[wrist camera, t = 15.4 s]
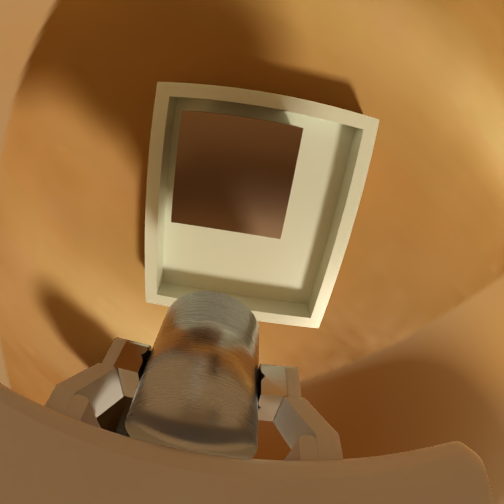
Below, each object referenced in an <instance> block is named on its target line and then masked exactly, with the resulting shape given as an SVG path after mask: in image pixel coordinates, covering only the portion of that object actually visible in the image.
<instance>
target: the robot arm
mask: <svg viewBox="0 0 504 504" xmlns="http://www.w3.org/2000/svg"><path fill="white" fill-rule="evenodd" d="M151 350H152V349H151V346H150V345H146V344H142V343H138V342H134V341H131V340H126V339H122V338H119V337H117V338H115V339H114V341H113V343H112V345H111V346H110V348H109V350H108V352H107V354H106V356H105V358H104V359H103V361H102V363H97V364H95V365H93V366H91V367H89V368H87V369H86V370H84V371H82V372H80V373H78V374H76V375H74V376H73V377H71V378H69V379H67V380H65V381H63V382H61V383H59V384H57V385H56V387H55V389H54V391H53V392H52V394H51V396H50V398H49V399H48V401H47V403H46V405H45V406H43V405H41V404H39V403H37V402H35V401H33V400H31V399H29V398H27V397H25V396H23V395H21V394H19V393H17V392H15V391H13V390H11V389H10V388H8V387H6V386H4V385H2V384H1V383H0V504H494V500H493V495H492V491H491V487H490V483H489V480H488V477H487V473H486V470H485V467H484V464H483V462H482V460H481V458H480V457H479V456H478V455H477V454H476V453H475V452H474V451H472V450H471V449H470V448H469V447H467V446H466V445H464V444H463V443H461V442H459V441H453V442H449V443H445V444H440V445H436V446H432V447H428V448H423V449H418V450H413V451H408V452H402V453H396V454H389V455H382V456H374V457H366V458H355V459H343V455H342V449H341V444H340V438H339V434H338V433H337V432H336V431H335V430H334V429H333V428H332V427H331V426H330V425H329V424H328V423H327V422H326V420H325V419H324V418H323V417H322V416H321V415H320V414H319V413H318V412H317V411H316V410H315V409H314V407H313V406H312V405H311V404H310V403H309V402H308V401H307V400H306V399H305V398H301V390H300V382H299V374H298V368H297V367H289V366H278V365H268V364H260V366H259V369H258V420H266V421H273V423H274V424H275V426H276V427H277V429H278V430H279V432H280V433H281V435H282V436H283V438H284V439H285V441H286V442H287V444H288V445H289V447H290V448H291V451H290V453H289V454H288V456H287V457H286V459H285V460H284V461H279V460H261V459H247V458H237V457H228V456H219V455H212V454H205V453H199V452H193V451H187V450H182V449H177V448H172V447H167V446H163V445H158V444H154V443H150V442H146V441H142V440H138V439H134V438H131V437H127V436H124V435H120V434H117V433H114V432H111V431H108V430H104V429H101V427H100V425H99V423H98V421H97V417H98V416H99V415H101V414H102V413H103V412H104V411H106V410H107V409H108V408H110V407H111V406H112V405H113V404H115V403H116V402H117V401H119V400H120V399H121V398H122V397H123V396H127V397H131V398H134V395H135V392H136V390H137V387H138V384H139V382H140V379H141V376H142V374H143V371H144V368H145V366H146V363H147V361H148V358H149V356H150V353H151Z"/></svg>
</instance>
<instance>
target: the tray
mask: <svg viewBox="0 0 504 504" xmlns="http://www.w3.org/2000/svg"><path fill="white" fill-rule="evenodd" d="M182 111H203V112H213V113H221V114H229V115H237V116H244V117H250V118H257V119H263V120H269V121H274V122H280V123H285V124H290V125H294V126H297V127H301V128H303V133H302V138H301V143H300V148H299V153H298V158H297V163H296V168H295V173H294V178H293V183H292V188H291V193H290V197H289V202H288V207H287V211H286V216H285V221H284V225H283V230H282V235H281V239H276V238H270V237H264V236H258V235H251V234H245V233H239V232H233V231H226V230H220V229H213V228H207V227H200V226H194V225H187V224H180V223H174V222H171V214H172V200H173V188H174V176H175V166H176V156H177V147H178V139H179V131H180V123H181V115H182ZM378 124H379V119H376V118H372V117H369V116H366V115H363V114H359V113H356V112H352V111H349V110H345V109H342V108H338V107H334V106H330V105H326V104H322V103H318V102H314V101H309V100H305V99H300V98H295V97H290V96H285V95H280V94H274V93H269V92H263V91H256V90H250V89H242V88H235V87H227V86H217V85H207V84H195V83H179V82H157V88H156V95H155V102H154V110H153V118H152V126H151V136H150V146H149V157H148V171H147V187H146V209H145V291H146V302H148V303H153V304H158V305H164V306H169V307H170V306H171V305H172V304H173V303H174V302H175V301H176V300H177V299H178V298H180V297H182V296H184V295H186V294H189V293H192V292H198V291H214V292H219V293H223V294H226V295H229V296H231V297H234V298H236V299H237V300H239V301H241V302H242V303H243V304H244V305H246V306H247V307H248V308H249V309H250V310H251V312H252V313H253V314H254V316H255V318H256V320H257V321H262V322H269V323H277V324H285V325H293V326H302V327H311V328H319V326H320V323H321V320H322V318H323V315H324V312H325V309H326V307H327V304H328V301H329V298H330V295H331V293H332V290H333V287H334V284H335V281H336V278H337V275H338V272H339V269H340V266H341V263H342V260H343V257H344V254H345V250H346V247H347V244H348V241H349V237H350V234H351V231H352V227H353V224H354V221H355V217H356V214H357V210H358V206H359V203H360V199H361V195H362V192H363V188H364V184H365V180H366V176H367V172H368V168H369V164H370V160H371V156H372V151H373V147H374V143H375V138H376V133H377V129H378Z"/></svg>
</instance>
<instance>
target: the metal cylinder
mask: <svg viewBox="0 0 504 504" xmlns="http://www.w3.org/2000/svg"><path fill="white" fill-rule="evenodd" d="M258 361H259V327H258V323H257V320H256V318H255V316H254V314H253V313H252V312H251V310H250V309H249V308H248V307H247V306H246V305H244V304H243V303H242V302H241V301H239V300H237V299H236V298H234V297H231V296H229V295H226V294H223V293H219V292H214V291H198V292H192V293H189V294H186V295H184V296H182V297H180V298H178V299H177V300H176V301H175V302H174V303H173V304H172V305H171V306H170V308H169V309H168V311H167V314H166V316H165V318H164V321H163V323H162V326H161V328H160V331H159V333H158V335H157V338H156V340H155V343H154V345H153V348H152V350H151V353H150V356H149V358H148V361H147V363H146V366H145V368H144V371H143V374H142V376H141V379H140V382H139V384H138V387H137V390H136V392H135V395H134V398H133V400H132V403H131V406H130V409H129V412H128V414H127V417H126V420H125V428H126V430H127V433H128V434H129V435H130V437H131V438H134V439H138V440H142V441H146V442H150V443H154V444H158V445H163V446H167V447H172V448H177V449H182V450H187V451H193V452H199V453H205V454H212V455H219V456H228V457H237V458H247V459H251V458H252V457H253V456H254V455H255V453H256V451H257V437H258V435H257V434H258Z"/></svg>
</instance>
